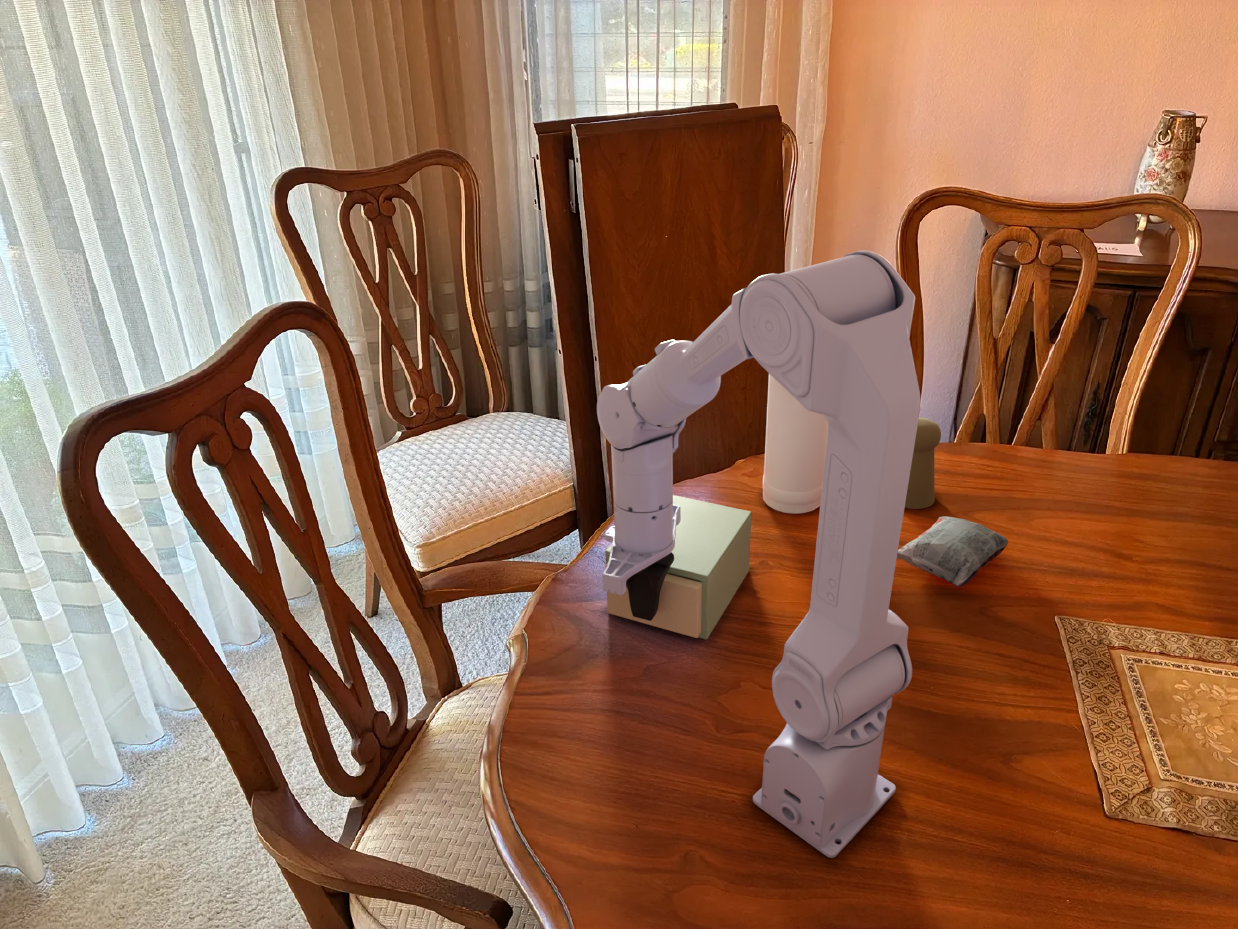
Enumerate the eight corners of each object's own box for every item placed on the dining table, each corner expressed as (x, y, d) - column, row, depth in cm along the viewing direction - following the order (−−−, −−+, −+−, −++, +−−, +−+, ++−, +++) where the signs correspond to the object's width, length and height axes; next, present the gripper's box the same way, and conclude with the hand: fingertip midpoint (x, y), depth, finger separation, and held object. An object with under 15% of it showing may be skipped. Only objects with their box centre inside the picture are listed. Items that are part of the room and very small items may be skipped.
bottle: (751, 503, 113) (760, 281, 99) (778, 479, 119) (791, 265, 105) (806, 521, 109) (825, 291, 95) (832, 495, 115) (853, 273, 100)
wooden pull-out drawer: (692, 645, 87) (693, 595, 84) (602, 619, 92) (599, 571, 89) (738, 573, 98) (739, 527, 95) (655, 553, 102) (654, 508, 99)
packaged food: (888, 570, 99) (893, 534, 97) (940, 530, 106) (946, 496, 104) (959, 603, 93) (966, 566, 91) (1009, 559, 100) (1017, 523, 98)
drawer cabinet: (706, 640, 89) (707, 576, 86) (608, 612, 94) (604, 550, 90) (749, 570, 100) (751, 511, 96) (658, 548, 105) (657, 491, 101)
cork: (937, 510, 110) (949, 433, 105) (888, 507, 111) (898, 431, 106) (931, 487, 115) (943, 413, 110) (885, 484, 117) (894, 410, 111)
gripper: (636, 460, 90) (639, 569, 96) (570, 526, 78) (578, 645, 84) (699, 471, 87) (698, 583, 93) (641, 542, 75) (644, 664, 81)
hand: (645, 614), depth 88 cm, fingers closed, pressing on wooden pull-out drawer
